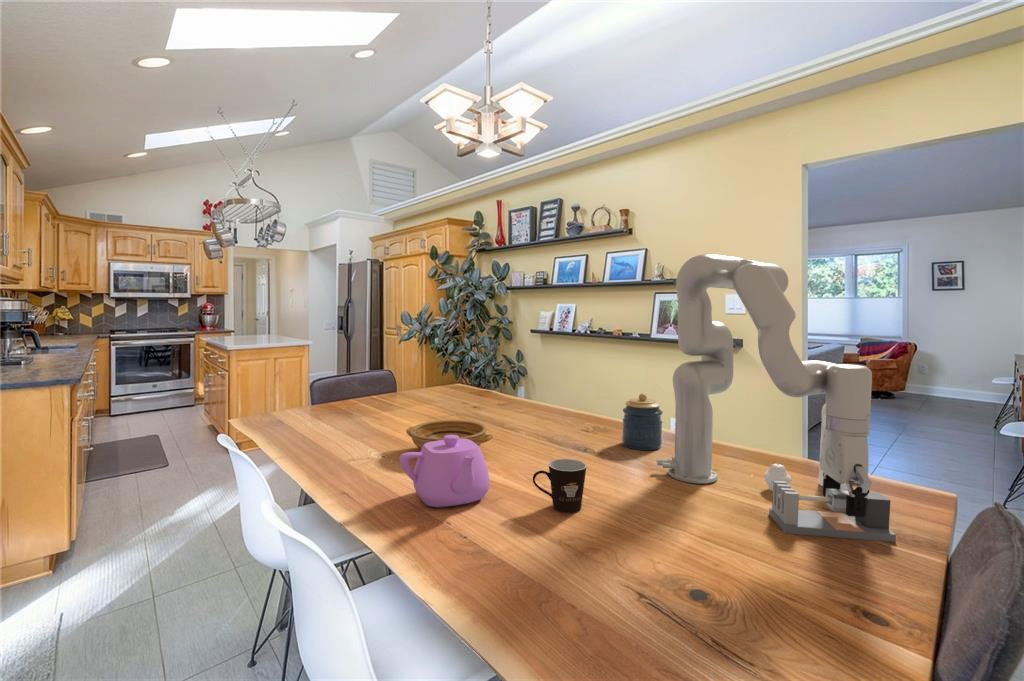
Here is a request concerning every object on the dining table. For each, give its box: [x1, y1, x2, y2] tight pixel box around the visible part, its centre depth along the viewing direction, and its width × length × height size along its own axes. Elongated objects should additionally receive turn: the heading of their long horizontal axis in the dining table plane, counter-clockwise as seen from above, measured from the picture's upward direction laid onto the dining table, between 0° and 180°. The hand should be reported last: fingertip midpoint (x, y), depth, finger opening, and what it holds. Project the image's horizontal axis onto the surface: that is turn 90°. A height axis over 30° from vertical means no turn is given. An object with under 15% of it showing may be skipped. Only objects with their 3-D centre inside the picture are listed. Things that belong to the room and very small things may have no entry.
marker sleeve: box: [824, 488, 849, 513], centre depth 97 cm, size 5×4×3 cm
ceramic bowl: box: [406, 419, 494, 450], centre depth 148 cm, size 30×24×8 cm
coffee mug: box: [532, 458, 587, 514], centre depth 108 cm, size 12×9×10 cm
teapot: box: [398, 435, 491, 509], centre depth 110 cm, size 23×21×15 cm
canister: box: [621, 393, 664, 451], centre depth 158 cm, size 13×13×18 cm
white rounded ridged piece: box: [763, 463, 793, 492], centre depth 118 cm, size 6×6×7 cm
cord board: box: [768, 481, 897, 543], centre depth 98 cm, size 20×9×8 cm, turn 80°
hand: (842, 506), depth 98 cm, fingers open, 9 cm apart
